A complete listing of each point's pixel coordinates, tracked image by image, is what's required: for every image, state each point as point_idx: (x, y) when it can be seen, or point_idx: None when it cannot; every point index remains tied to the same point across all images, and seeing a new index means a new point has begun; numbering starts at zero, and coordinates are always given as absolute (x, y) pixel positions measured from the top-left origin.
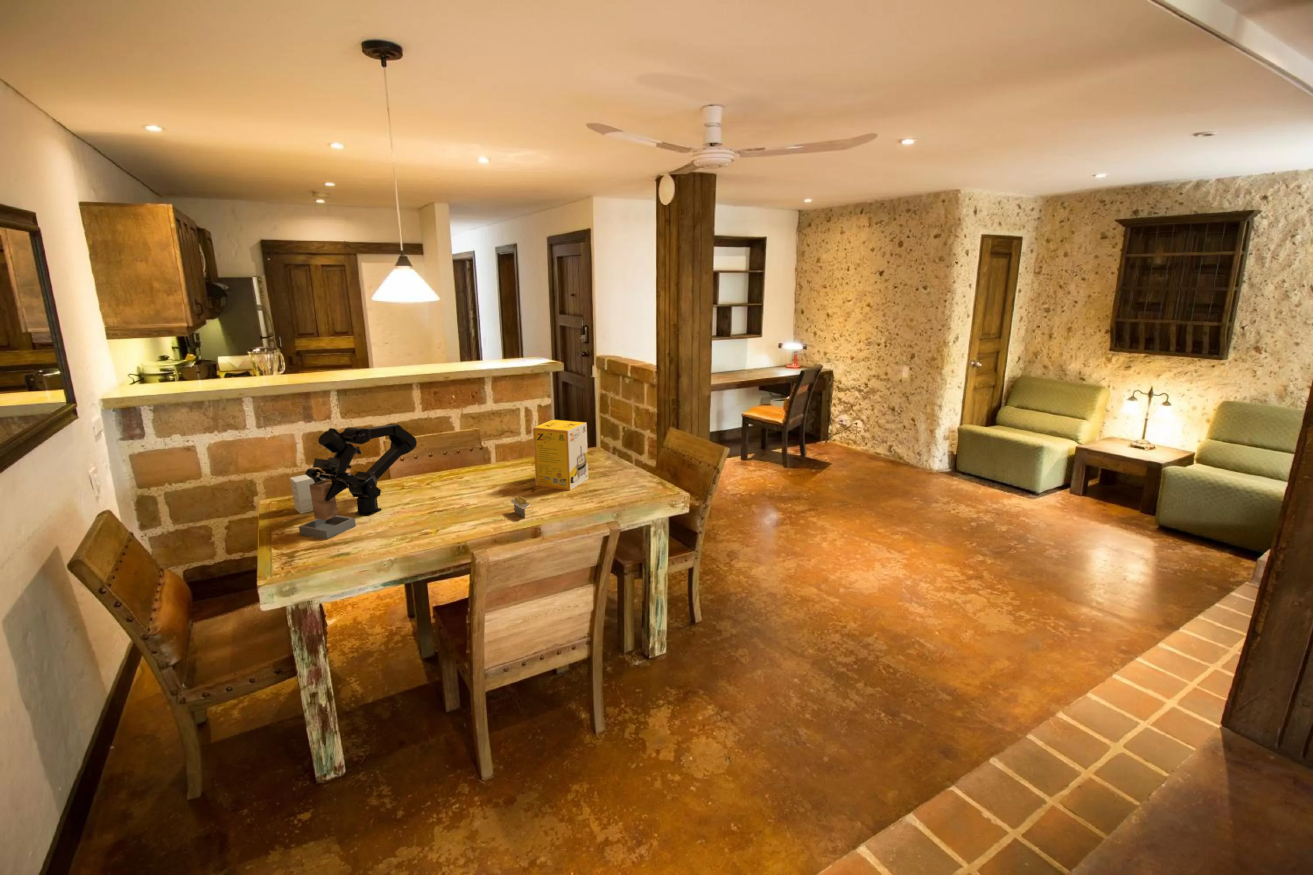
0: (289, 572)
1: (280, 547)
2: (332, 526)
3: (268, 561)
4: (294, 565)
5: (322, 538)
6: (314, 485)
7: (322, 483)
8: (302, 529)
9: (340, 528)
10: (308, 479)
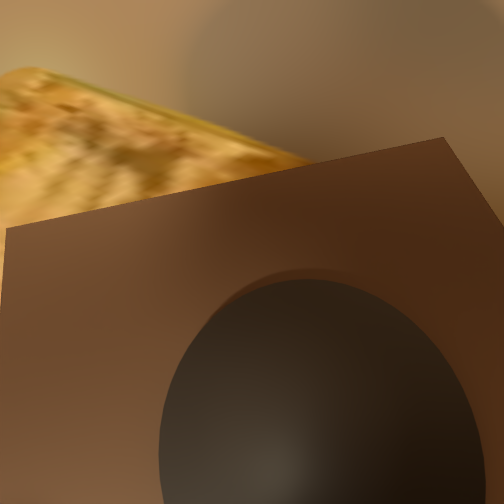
0: (18, 106)
1: (248, 171)
2: None
3: (163, 107)
4: (48, 132)
5: None
6: (278, 182)
7: (206, 425)
8: None
9: None
10: None
